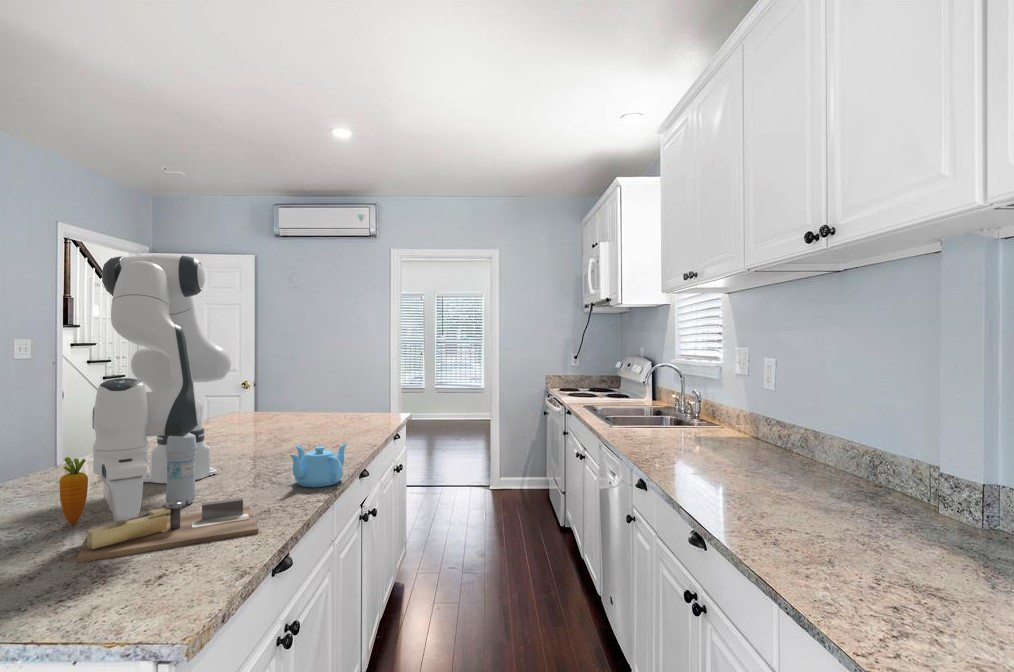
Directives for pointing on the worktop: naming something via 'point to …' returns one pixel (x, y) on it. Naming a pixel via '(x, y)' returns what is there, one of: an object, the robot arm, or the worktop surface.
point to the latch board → (185, 530)
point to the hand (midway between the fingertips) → (120, 530)
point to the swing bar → (132, 527)
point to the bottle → (181, 468)
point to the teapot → (318, 467)
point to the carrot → (73, 491)
